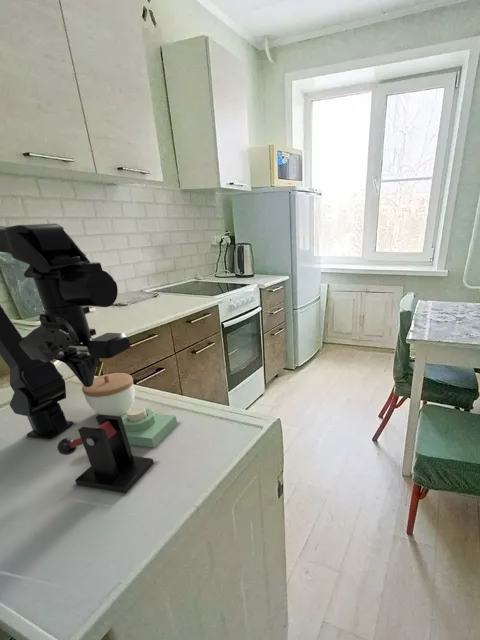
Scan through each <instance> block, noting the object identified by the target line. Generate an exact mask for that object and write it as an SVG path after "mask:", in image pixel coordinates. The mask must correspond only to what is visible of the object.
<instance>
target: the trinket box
mask: <svg viewBox="0 0 480 640" xmlns="http://www.w3.org/2000/svg"><path fill="white" fill-rule="evenodd" d="M81 391H82V393H83V395H84V399H85V401H86V402H87V404H88V406H89V407H90V408H91V410H92V411H93V412H95V413H96V414H98V415H100V414H102V415H111V416H123V415H124V414H125V413H127V411H128V410H129V409H131V408H132V406H133V404H134V402H135V398H136V390H135V384H134V378H133V376H132V375H131V374H128V373H124V372H114V373H107V374H103V375H99V376H97V377H94V381H93V385H92V386H91V387H85V386H84V385H83V384H82V387H81Z"/></svg>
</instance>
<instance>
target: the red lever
mask: <svg viewBox="0 0 480 640" xmlns="http://www.w3.org/2000/svg"><path fill="white" fill-rule="evenodd" d="M94 428H98V429H105V431H106V434H107V438H108V439H109V438H110V437H112V436H113V435H114V434H115V433H117V431H116V430H115V429H114V427H113V426H112V425H111V423H110V422H109V421H107V422H104V423H102V424H100V425H98V424H97V425H96V426H95V427H94ZM81 445H83V442H82V439H81V437H78V438H76V439H73V438H70V437H65V438H62V439H61V440H59V441H58V443H57V446H56V449H57V452H58V453H59V454H61V455H62V456H69V455H72V454H74V453H75V451H76V450H77V449H78V448H77V447H78V446H81Z"/></svg>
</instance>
